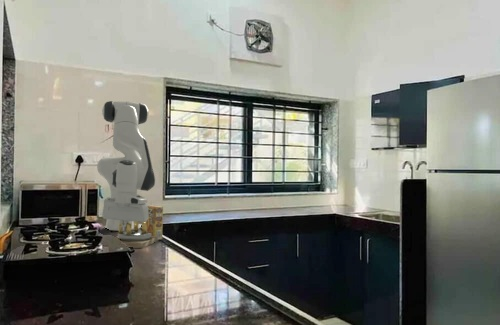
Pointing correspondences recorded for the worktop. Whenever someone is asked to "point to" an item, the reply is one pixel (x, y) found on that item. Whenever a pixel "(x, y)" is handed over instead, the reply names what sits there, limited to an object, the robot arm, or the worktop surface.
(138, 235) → the cam disc
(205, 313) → the worktop surface
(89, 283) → the worktop surface
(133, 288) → the worktop surface
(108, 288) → the worktop surface
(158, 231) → the candy box
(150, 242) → the stand plate
